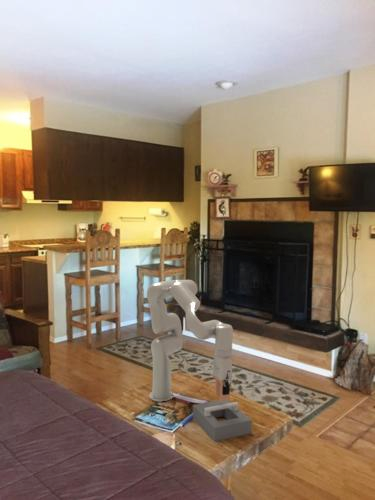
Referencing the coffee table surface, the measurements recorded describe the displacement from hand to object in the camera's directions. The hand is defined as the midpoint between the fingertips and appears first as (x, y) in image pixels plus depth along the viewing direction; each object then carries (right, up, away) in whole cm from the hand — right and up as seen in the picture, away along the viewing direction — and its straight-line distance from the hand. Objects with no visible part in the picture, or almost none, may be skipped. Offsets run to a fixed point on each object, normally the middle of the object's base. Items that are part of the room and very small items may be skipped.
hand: (222, 390), depth 190 cm
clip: (0, -3, 0) cm, 3 cm away
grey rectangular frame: (0, -16, +2) cm, 16 cm away
